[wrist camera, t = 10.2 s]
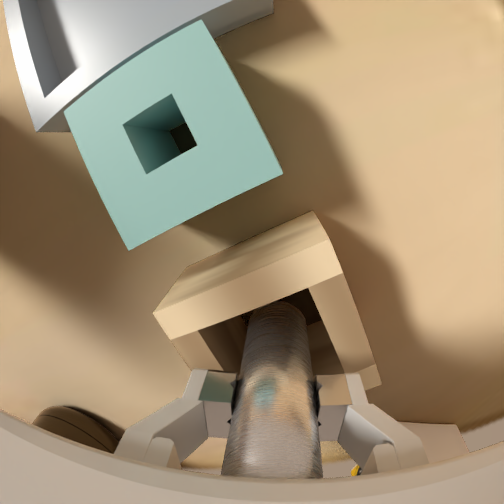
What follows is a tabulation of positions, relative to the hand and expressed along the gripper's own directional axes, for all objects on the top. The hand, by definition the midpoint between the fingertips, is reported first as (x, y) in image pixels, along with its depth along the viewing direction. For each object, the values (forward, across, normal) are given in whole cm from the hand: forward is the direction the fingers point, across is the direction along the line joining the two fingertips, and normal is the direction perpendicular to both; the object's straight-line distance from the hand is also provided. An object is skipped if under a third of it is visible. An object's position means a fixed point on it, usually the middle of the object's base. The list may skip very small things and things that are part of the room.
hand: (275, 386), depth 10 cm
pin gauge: (+4, 0, 0) cm, 4 cm away
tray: (+7, +9, -18) cm, 21 cm away
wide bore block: (+7, 0, 0) cm, 7 cm away
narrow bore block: (+7, +4, -8) cm, 11 cm away
